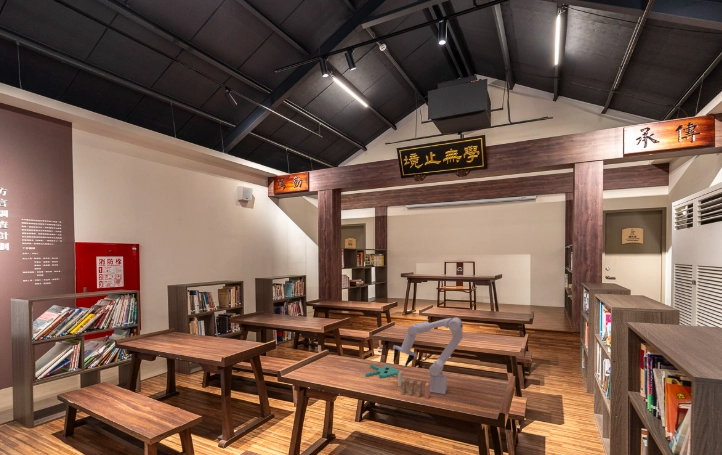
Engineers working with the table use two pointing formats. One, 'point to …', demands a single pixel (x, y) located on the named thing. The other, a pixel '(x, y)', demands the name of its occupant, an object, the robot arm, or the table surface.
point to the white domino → (400, 377)
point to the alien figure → (383, 371)
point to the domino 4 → (427, 390)
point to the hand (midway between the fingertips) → (399, 363)
